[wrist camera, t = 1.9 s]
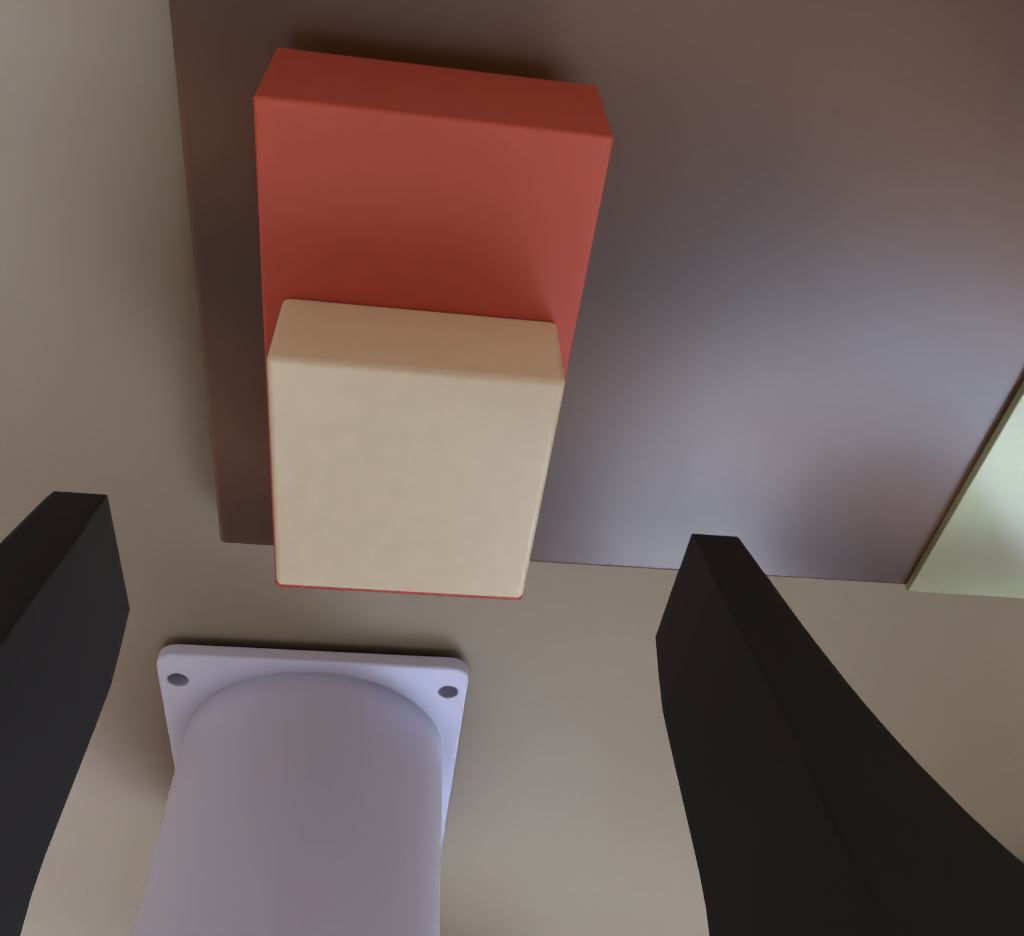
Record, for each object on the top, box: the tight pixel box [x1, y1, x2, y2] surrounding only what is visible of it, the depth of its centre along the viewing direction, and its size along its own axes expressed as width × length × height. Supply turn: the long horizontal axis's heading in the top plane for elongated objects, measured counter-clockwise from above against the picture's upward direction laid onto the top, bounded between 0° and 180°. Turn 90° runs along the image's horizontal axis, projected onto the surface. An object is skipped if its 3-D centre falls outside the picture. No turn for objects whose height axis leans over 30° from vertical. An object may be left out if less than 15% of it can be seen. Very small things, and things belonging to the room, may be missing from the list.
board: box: [169, 0, 1024, 598], centre depth 18 cm, size 13×22×1 cm, turn 83°
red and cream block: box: [253, 48, 613, 600], centre depth 15 cm, size 9×5×5 cm, turn 173°
